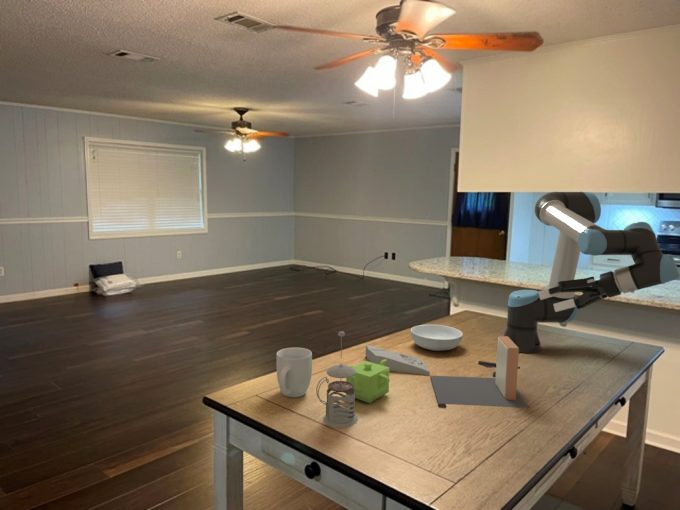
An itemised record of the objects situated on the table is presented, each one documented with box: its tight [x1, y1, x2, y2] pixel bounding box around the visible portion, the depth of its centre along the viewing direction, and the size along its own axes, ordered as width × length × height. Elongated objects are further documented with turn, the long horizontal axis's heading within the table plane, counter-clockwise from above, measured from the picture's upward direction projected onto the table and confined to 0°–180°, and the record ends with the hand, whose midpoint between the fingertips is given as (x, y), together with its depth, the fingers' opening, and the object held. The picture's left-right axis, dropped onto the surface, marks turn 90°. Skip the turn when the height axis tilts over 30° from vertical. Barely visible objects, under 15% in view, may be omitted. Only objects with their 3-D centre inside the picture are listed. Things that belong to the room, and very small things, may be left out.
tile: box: [495, 335, 520, 400], centre depth 149 cm, size 12×3×16 cm, turn 176°
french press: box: [316, 330, 359, 429], centre depth 130 cm, size 10×12×25 cm
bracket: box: [477, 360, 521, 378], centre depth 169 cm, size 14×15×3 cm
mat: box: [429, 375, 530, 409], centre depth 151 cm, size 22×26×1 cm
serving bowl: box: [410, 324, 464, 352], centre depth 195 cm, size 21×21×7 cm
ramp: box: [365, 344, 431, 376], centre depth 174 cm, size 28×16×5 cm, turn 52°
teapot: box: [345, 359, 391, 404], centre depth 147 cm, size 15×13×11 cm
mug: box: [275, 347, 313, 398], centre depth 146 cm, size 15×11×13 cm
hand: (547, 302), depth 156 cm, fingers open, 13 cm apart
